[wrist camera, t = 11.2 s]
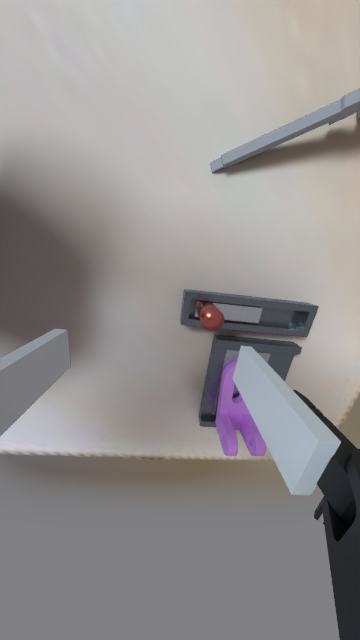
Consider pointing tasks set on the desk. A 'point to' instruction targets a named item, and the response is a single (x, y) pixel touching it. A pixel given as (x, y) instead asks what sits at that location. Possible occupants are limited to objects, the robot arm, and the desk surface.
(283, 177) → the desk surface
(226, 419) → the bracket
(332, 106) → the caliper
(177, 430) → the desk surface
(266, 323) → the frame
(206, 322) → the lever
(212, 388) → the press bed
